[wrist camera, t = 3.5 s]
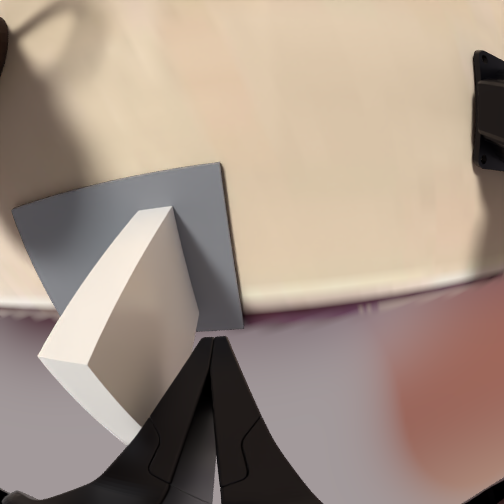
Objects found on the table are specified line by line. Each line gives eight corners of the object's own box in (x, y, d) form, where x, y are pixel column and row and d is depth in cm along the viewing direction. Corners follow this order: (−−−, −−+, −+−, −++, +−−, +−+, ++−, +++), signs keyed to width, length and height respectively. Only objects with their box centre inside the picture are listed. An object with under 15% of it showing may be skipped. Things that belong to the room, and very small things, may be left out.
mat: (219, 162, 11) (219, 163, 11) (243, 324, 15) (244, 328, 15) (14, 208, 11) (11, 210, 11) (71, 328, 16) (69, 331, 15)
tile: (172, 205, 11) (87, 364, 4) (199, 312, 14) (175, 458, 8) (135, 211, 11) (33, 355, 5) (168, 313, 14) (132, 452, 8)
